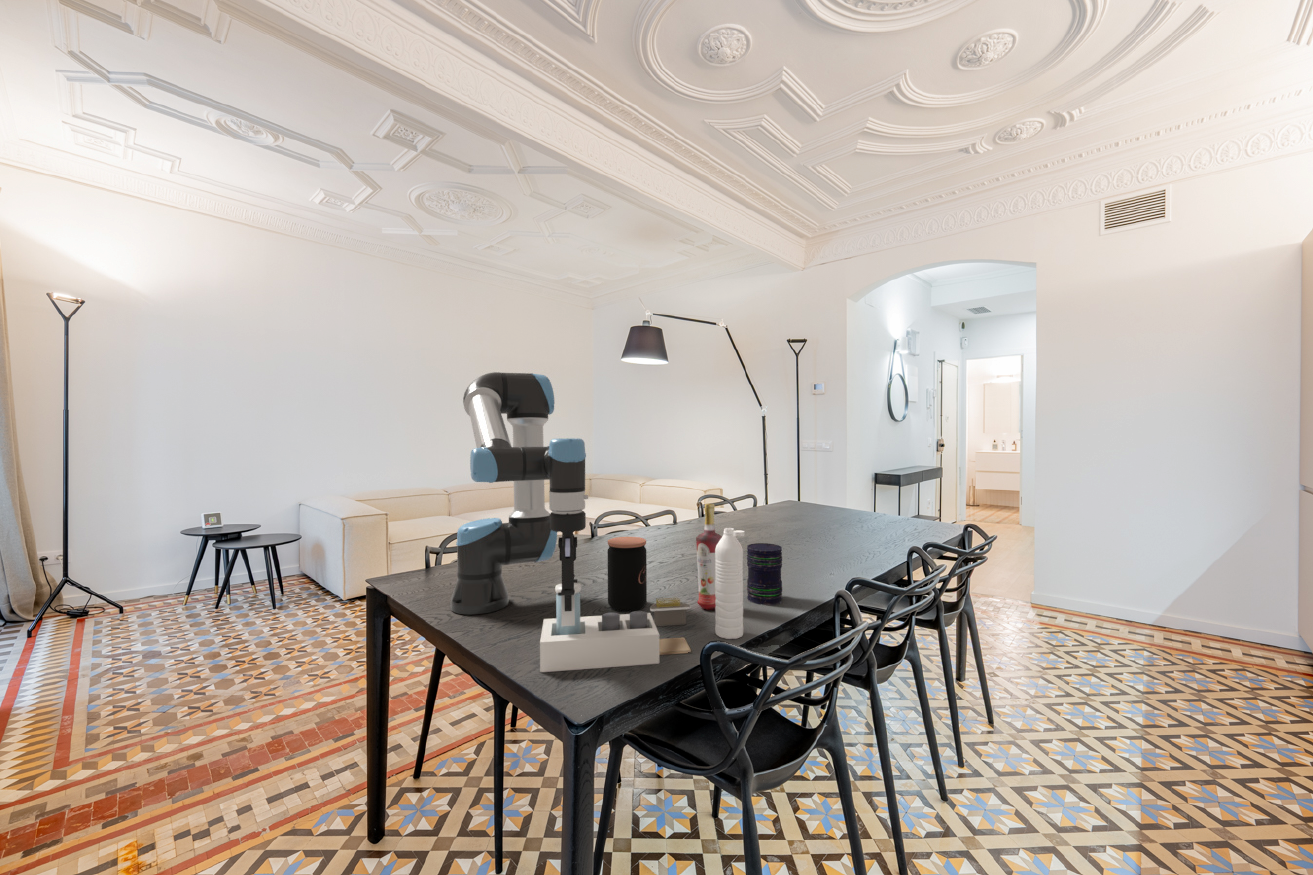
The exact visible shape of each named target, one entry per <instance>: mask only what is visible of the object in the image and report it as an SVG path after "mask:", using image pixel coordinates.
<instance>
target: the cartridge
mask: <svg viewBox="0 0 1313 875" xmlns="http://www.w3.org/2000/svg"><path fill="white" fill-rule="evenodd" d="M554 587H555V588H554V591H555V593H556V595H555V600H556V602H555V608H556V609H555V610H556V611H555V613H556V617H555V618H556V628H557V635H571V634H580V617H581V591H582V585H581V584H580V583H578V582H577V583H574V590H575V626H562V616H561V596H558V593H559V592H561V590H562V582H561V583H558V584H556V585H555V586H554Z"/></svg>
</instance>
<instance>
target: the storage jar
mask: <svg viewBox="0 0 1313 875" xmlns="http://www.w3.org/2000/svg"><path fill="white" fill-rule="evenodd" d="M746 550H747V551H746V560H747V561H746V565H747V579H746V580H747V581H746V584H747V585H746V591H747V592H746V593H747V597H746V598H747V600H748V601H749V602H750V603H753V604H756V605H761V604H762V606H771V605H772V606H773V605H778V604H780V603H783V602H782V601H783V598H782V596H783V581H782V568H783V556H782V555H783V554H782V551H783V547H782V546H781V545H778V544H773V543H768V542H767V543H766V542H764V543H763V542H762V543H761V542H757V543H755V542H754V543H750V544H748V545H747V546H746Z"/></svg>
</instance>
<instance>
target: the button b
mask: <svg viewBox="0 0 1313 875" xmlns="http://www.w3.org/2000/svg"><path fill="white" fill-rule="evenodd" d="M647 613H648V612H647V611H643V610H637V611H630V613H629V614H630V629H642V628H647Z"/></svg>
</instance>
